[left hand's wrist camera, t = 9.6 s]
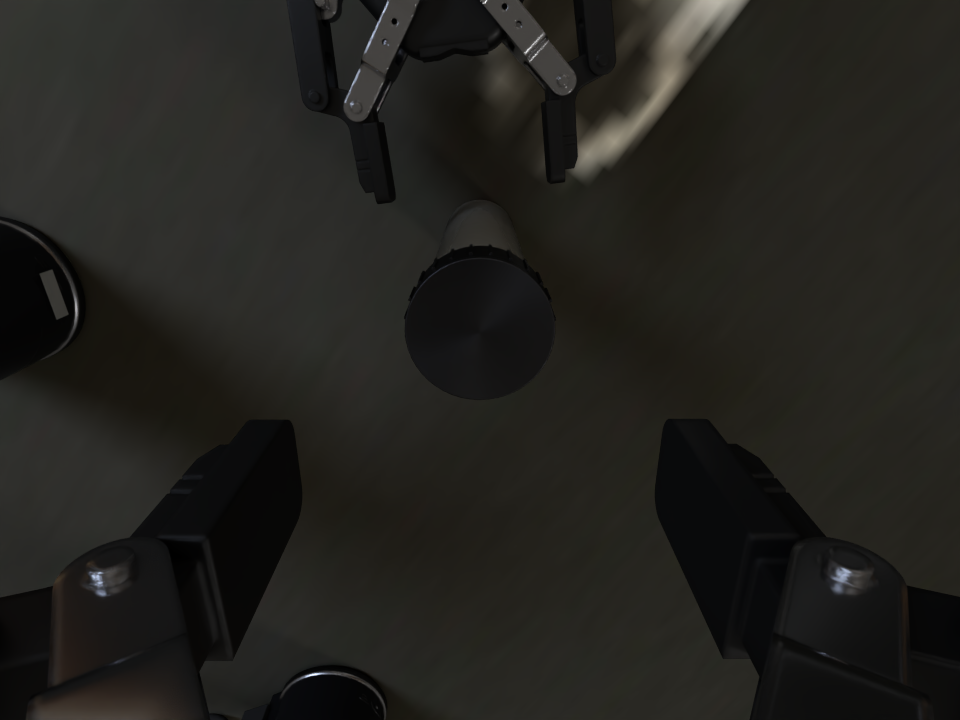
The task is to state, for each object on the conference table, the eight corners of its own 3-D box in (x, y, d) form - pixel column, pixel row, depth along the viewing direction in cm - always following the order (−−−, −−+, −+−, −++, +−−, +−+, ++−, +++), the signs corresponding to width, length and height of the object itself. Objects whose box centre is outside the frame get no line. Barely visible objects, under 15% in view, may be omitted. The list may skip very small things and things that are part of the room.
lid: (533, 226, 19) (539, 237, 17) (562, 360, 21) (570, 383, 19) (391, 263, 20) (382, 277, 18) (432, 391, 22) (427, 416, 20)
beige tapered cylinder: (505, 191, 35) (528, 249, 18) (520, 259, 36) (556, 370, 20) (437, 209, 35) (398, 282, 18) (456, 275, 37) (435, 398, 20)
